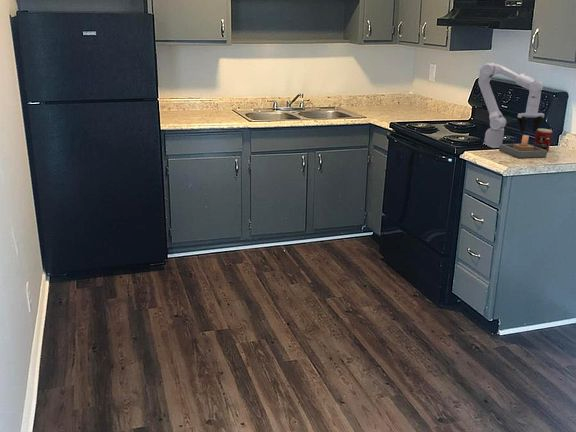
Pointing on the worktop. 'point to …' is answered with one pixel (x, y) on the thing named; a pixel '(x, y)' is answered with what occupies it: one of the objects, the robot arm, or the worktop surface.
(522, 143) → the peg
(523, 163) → the worktop surface
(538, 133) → the canned food
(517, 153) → the tray
